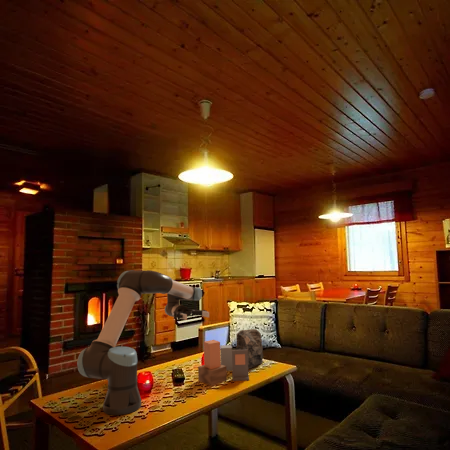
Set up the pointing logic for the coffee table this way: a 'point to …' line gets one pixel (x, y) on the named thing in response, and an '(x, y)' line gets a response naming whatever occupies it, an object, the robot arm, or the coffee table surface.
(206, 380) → the walnut block
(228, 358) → the slate-grey block
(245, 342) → the stone block
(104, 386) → the coffee table surface
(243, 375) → the charcoal sign
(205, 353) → the terracotta block
